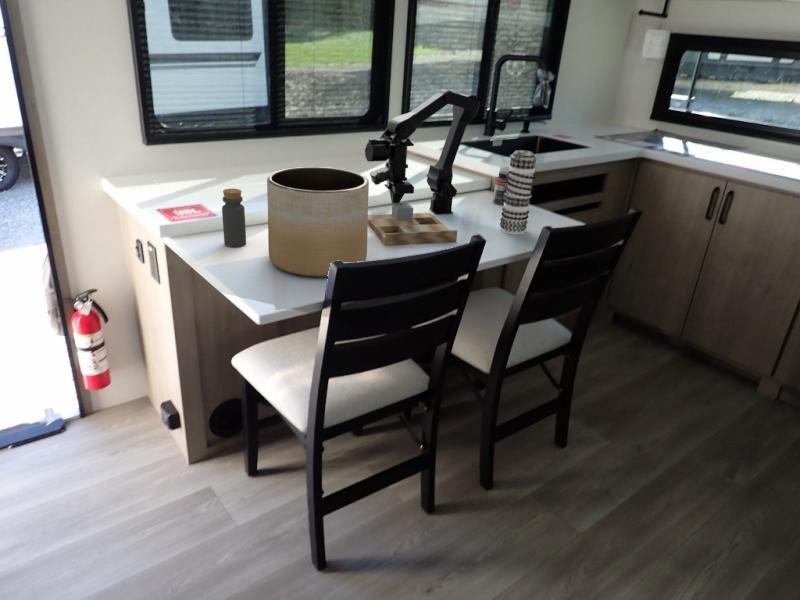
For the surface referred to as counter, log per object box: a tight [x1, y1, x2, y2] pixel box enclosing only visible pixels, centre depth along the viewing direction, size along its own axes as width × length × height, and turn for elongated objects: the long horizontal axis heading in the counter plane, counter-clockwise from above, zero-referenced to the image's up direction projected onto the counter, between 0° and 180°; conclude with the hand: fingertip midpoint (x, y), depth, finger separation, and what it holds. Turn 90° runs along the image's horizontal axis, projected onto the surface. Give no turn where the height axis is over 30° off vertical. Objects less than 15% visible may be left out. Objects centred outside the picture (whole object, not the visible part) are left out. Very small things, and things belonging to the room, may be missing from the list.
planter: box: [266, 166, 370, 278], centre depth 150 cm, size 25×25×22 cm
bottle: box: [221, 188, 247, 248], centre depth 159 cm, size 6×6×15 cm
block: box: [391, 202, 414, 221], centre depth 185 cm, size 5×6×4 cm
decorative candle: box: [499, 149, 538, 235], centre depth 183 cm, size 9×9×25 cm
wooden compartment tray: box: [368, 212, 458, 247], centre depth 180 cm, size 22×23×4 cm
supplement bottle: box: [492, 170, 509, 205], centre depth 215 cm, size 6×6×11 cm
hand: (394, 207), depth 193 cm, fingers closed
